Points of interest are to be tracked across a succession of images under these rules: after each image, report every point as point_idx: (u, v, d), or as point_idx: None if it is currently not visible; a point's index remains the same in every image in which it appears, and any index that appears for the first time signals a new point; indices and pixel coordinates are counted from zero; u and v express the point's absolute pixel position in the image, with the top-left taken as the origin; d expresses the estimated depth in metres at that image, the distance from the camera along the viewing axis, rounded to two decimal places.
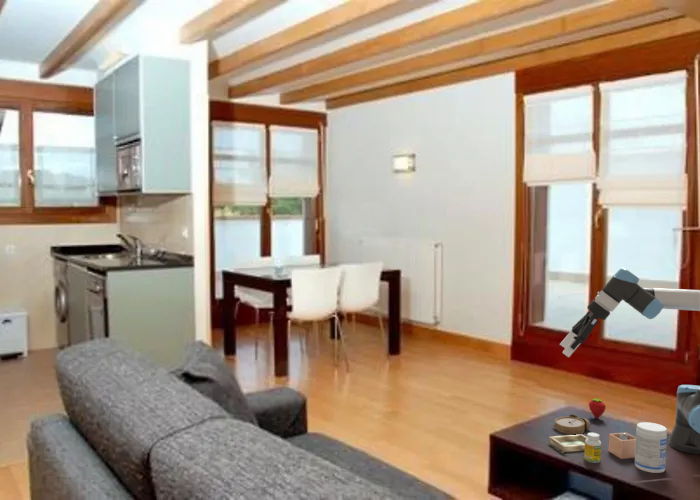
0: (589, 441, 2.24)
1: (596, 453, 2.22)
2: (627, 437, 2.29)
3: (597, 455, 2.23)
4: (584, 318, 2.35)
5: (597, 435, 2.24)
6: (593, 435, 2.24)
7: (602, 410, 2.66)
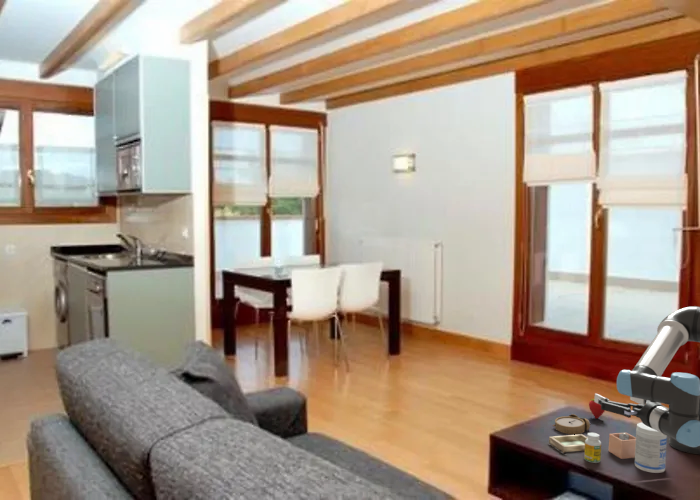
0: (589, 441, 2.24)
1: (596, 453, 2.22)
2: (627, 437, 2.29)
3: (597, 455, 2.23)
4: None
5: (597, 435, 2.24)
6: (593, 435, 2.24)
7: (602, 410, 2.66)
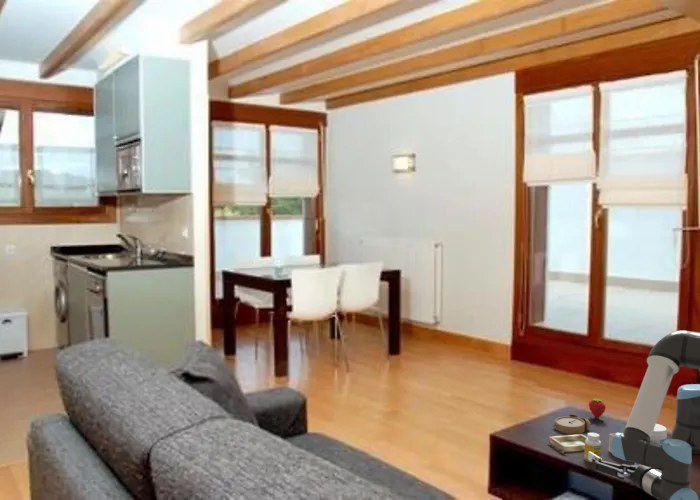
0: (589, 441, 2.24)
1: (596, 453, 2.22)
2: None
3: (597, 455, 2.23)
4: None
5: (597, 435, 2.24)
6: (593, 435, 2.24)
7: (602, 410, 2.66)
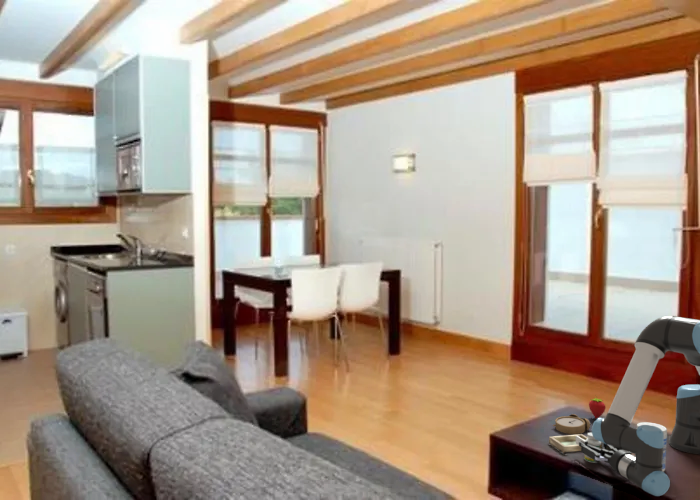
0: (589, 441, 2.24)
1: None
2: None
3: None
4: None
5: None
6: None
7: (602, 410, 2.66)
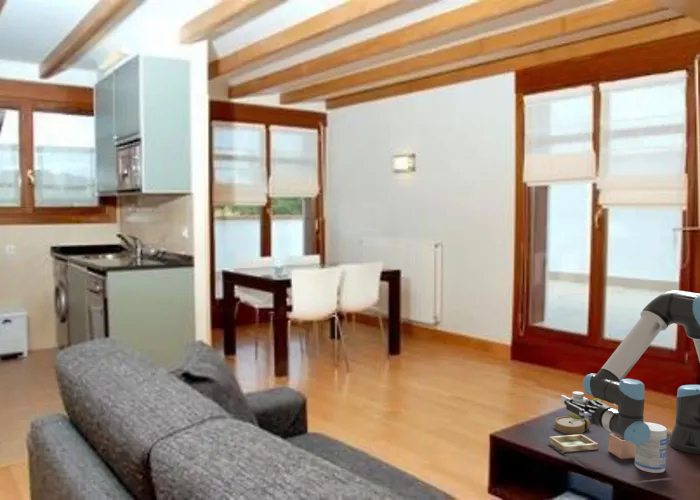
0: (574, 399, 2.33)
1: None
2: None
3: None
4: None
5: (582, 393, 2.33)
6: (578, 393, 2.33)
7: None
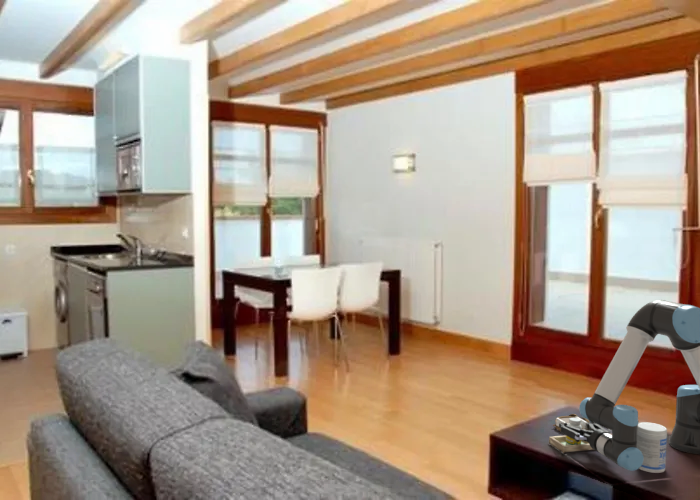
0: (570, 425, 2.36)
1: None
2: None
3: None
4: None
5: (578, 420, 2.37)
6: (574, 420, 2.36)
7: None
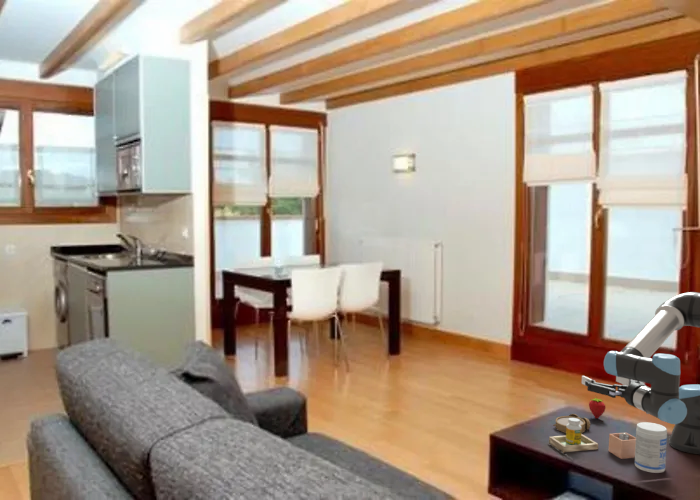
0: (570, 426, 2.36)
1: (576, 437, 2.35)
2: (627, 437, 2.29)
3: (577, 439, 2.35)
4: None
5: (577, 420, 2.37)
6: (574, 420, 2.36)
7: (602, 410, 2.66)
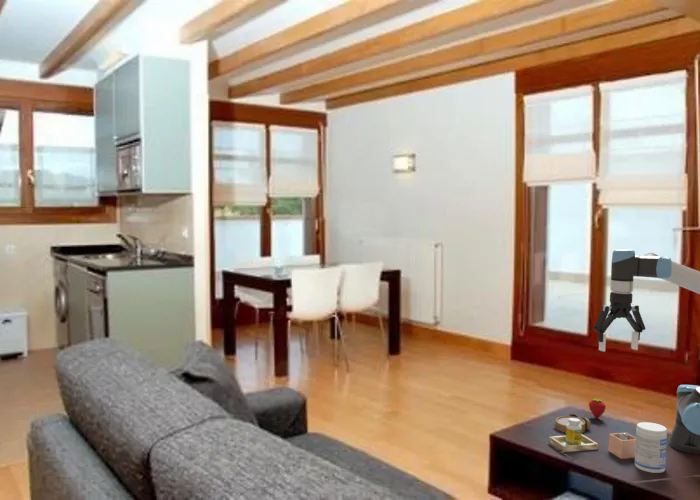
0: (570, 426, 2.36)
1: (576, 437, 2.35)
2: (627, 437, 2.29)
3: (577, 439, 2.35)
4: None
5: (578, 420, 2.37)
6: (574, 420, 2.36)
7: (602, 410, 2.66)
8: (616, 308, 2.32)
